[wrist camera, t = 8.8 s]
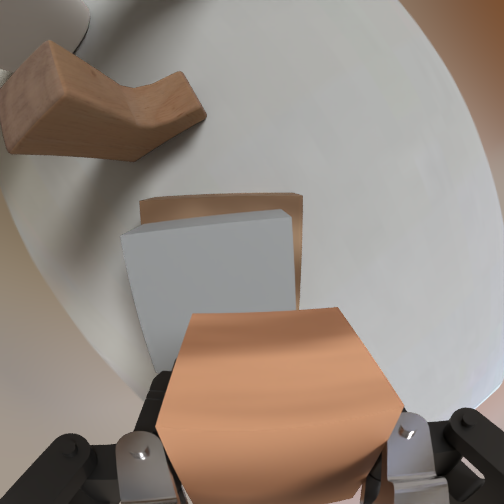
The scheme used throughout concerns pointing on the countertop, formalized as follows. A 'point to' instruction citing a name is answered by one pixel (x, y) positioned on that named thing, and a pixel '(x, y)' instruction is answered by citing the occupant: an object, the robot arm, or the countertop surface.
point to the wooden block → (90, 109)
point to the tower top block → (207, 272)
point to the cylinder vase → (39, 27)
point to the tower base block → (228, 204)
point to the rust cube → (275, 408)
